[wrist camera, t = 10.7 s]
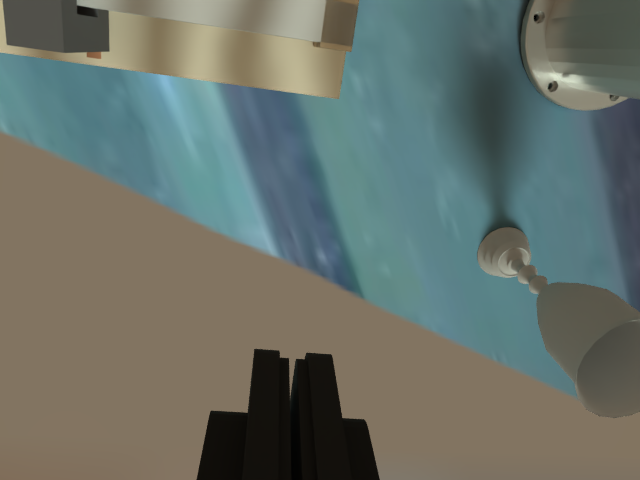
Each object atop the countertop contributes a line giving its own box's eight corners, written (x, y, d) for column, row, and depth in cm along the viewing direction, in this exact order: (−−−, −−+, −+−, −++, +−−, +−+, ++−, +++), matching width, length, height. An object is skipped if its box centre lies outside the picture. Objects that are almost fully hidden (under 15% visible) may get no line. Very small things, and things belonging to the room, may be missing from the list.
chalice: (530, 285, 47) (665, 416, 31) (463, 286, 47) (563, 419, 30) (545, 215, 44) (702, 317, 28) (474, 215, 44) (591, 319, 27)
